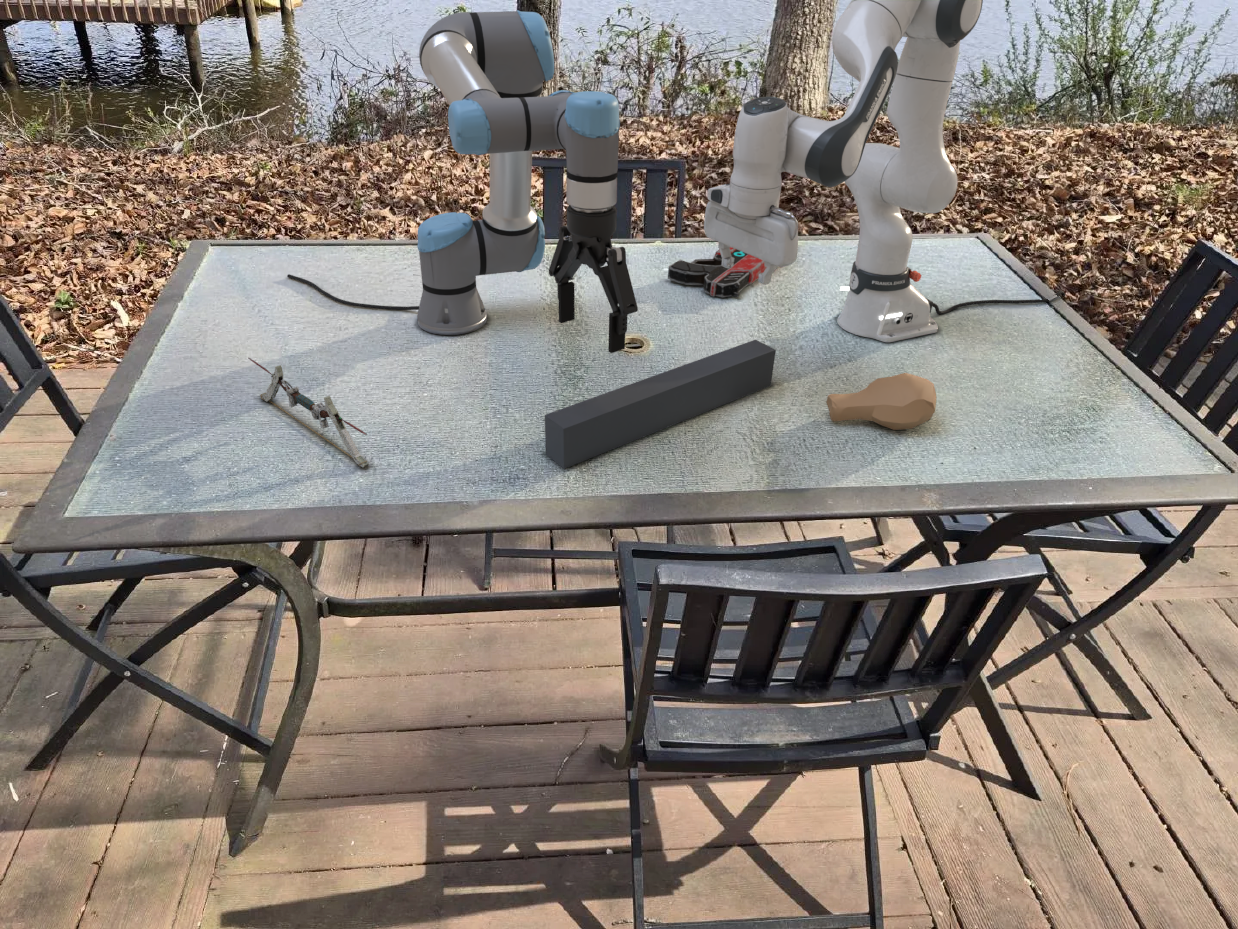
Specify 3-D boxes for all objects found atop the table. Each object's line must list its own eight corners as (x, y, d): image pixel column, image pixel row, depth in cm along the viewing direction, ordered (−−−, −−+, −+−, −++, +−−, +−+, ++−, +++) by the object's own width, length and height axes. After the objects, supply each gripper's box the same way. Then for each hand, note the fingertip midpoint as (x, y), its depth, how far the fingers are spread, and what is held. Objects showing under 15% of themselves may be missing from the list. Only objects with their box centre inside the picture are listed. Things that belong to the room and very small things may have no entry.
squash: (941, 436, 161) (948, 398, 155) (831, 444, 163) (834, 407, 157) (927, 398, 169) (933, 361, 163) (822, 407, 171) (824, 370, 164)
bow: (378, 470, 147) (371, 419, 141) (369, 475, 146) (361, 423, 140) (261, 391, 168) (250, 343, 163) (252, 394, 167) (241, 347, 162)
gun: (663, 267, 215) (734, 286, 207) (718, 230, 237) (784, 246, 229) (662, 284, 218) (732, 303, 210) (716, 246, 240) (782, 262, 232)
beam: (564, 469, 149) (563, 428, 145) (545, 454, 153) (544, 414, 148) (771, 385, 176) (776, 349, 171) (751, 375, 179) (755, 339, 175)
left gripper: (665, 223, 125) (658, 357, 136) (564, 180, 141) (565, 304, 153) (624, 233, 121) (620, 370, 132) (524, 188, 137) (529, 314, 149)
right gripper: (811, 211, 147) (799, 289, 155) (726, 181, 160) (719, 254, 168) (785, 218, 144) (775, 297, 151) (701, 187, 157) (695, 261, 165)
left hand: (590, 335), depth 143 cm, fingers open, 13 cm apart
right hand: (745, 274), depth 160 cm, fingers open, 8 cm apart
